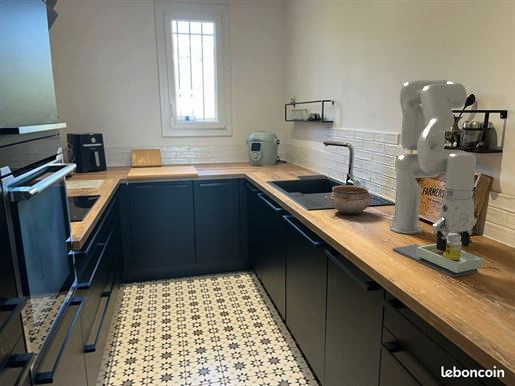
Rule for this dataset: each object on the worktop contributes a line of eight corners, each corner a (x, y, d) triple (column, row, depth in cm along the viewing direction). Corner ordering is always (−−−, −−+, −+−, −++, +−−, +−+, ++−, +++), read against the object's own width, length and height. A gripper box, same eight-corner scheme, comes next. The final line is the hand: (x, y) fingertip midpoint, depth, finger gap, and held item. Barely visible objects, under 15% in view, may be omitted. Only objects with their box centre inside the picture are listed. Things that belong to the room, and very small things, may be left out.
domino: (427, 254, 125) (427, 250, 124) (439, 252, 127) (439, 248, 126) (433, 256, 122) (434, 253, 122) (445, 254, 124) (445, 251, 124)
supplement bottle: (440, 257, 122) (442, 232, 120) (454, 257, 122) (457, 232, 120) (447, 263, 117) (450, 237, 115) (462, 263, 117) (465, 236, 116)
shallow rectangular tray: (415, 258, 126) (416, 247, 125) (439, 253, 130) (440, 242, 129) (456, 276, 112) (457, 263, 111) (481, 270, 116) (483, 258, 115)
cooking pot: (364, 207, 198) (365, 184, 195) (382, 216, 179) (384, 191, 177) (318, 209, 194) (319, 186, 191) (331, 219, 175) (332, 193, 173)
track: (392, 250, 136) (392, 248, 136) (415, 246, 140) (415, 244, 140) (452, 277, 113) (452, 275, 113) (477, 271, 117) (477, 269, 117)
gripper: (447, 199, 108) (441, 256, 112) (489, 193, 115) (483, 247, 118) (426, 194, 115) (422, 248, 119) (467, 189, 122) (462, 240, 125)
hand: (452, 248), depth 118 cm, fingers open, 9 cm apart
